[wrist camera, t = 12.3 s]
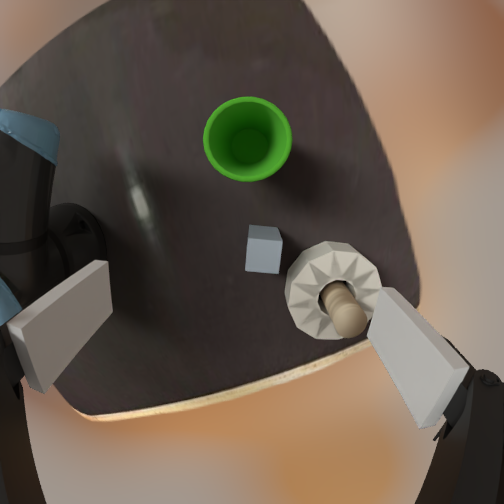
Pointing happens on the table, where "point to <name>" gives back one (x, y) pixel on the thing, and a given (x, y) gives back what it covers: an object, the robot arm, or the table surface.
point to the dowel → (343, 309)
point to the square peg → (263, 249)
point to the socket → (321, 273)
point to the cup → (247, 139)
